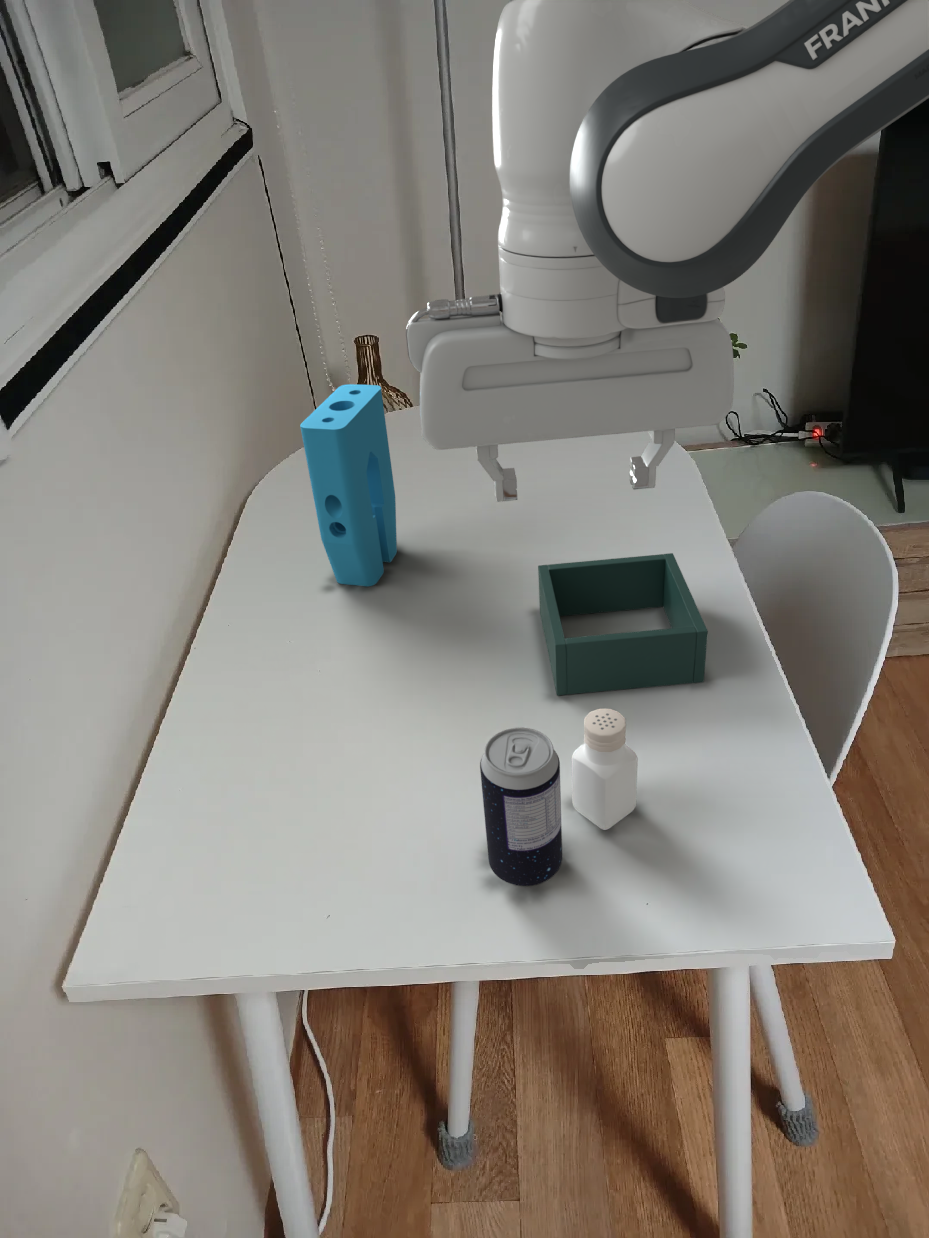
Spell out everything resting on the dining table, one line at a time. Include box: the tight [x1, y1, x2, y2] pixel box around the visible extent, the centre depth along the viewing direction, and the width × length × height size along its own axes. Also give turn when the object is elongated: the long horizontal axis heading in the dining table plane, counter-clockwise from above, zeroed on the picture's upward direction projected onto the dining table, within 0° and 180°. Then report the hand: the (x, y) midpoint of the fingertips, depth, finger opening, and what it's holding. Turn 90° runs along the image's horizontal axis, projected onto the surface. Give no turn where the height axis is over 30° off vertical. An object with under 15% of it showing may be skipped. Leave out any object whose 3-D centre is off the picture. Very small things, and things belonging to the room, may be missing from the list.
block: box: [299, 383, 398, 587], centre depth 107 cm, size 12×5×20 cm, turn 164°
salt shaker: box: [571, 708, 639, 831], centre depth 75 cm, size 4×4×10 cm
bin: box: [537, 552, 709, 697], centre depth 94 cm, size 14×14×6 cm
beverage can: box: [479, 727, 563, 887], centre depth 70 cm, size 6×6×12 cm
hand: (574, 491), depth 66 cm, fingers open, 8 cm apart
